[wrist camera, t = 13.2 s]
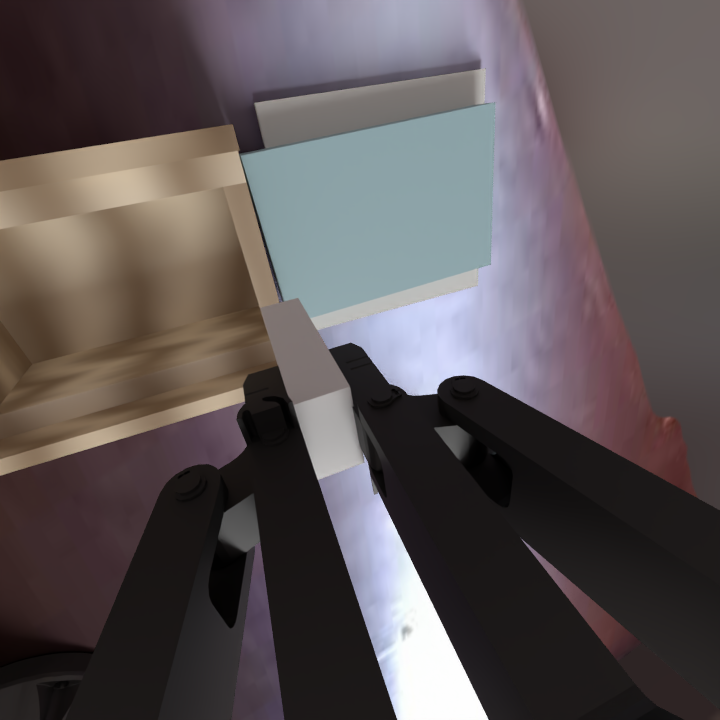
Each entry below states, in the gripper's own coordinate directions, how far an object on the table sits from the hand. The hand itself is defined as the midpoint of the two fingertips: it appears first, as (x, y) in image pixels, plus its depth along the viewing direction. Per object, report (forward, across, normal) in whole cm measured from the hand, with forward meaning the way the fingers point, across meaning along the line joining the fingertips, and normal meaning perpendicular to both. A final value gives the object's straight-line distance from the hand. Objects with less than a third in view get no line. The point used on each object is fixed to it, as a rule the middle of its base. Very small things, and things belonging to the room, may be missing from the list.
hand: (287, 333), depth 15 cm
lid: (+14, +10, +1) cm, 17 cm away
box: (+15, -8, 0) cm, 17 cm away
